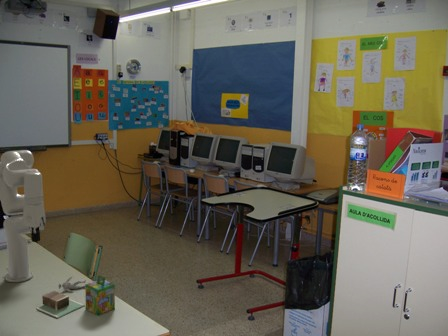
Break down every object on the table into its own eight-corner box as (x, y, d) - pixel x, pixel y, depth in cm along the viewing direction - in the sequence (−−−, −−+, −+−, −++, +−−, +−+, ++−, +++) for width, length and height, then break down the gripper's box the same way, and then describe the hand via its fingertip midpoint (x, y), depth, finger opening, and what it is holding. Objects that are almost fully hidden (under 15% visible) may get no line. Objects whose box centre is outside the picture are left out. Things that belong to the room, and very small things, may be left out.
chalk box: (85, 309, 203) (84, 277, 201) (102, 302, 210) (102, 270, 208) (98, 316, 197) (97, 283, 195) (115, 308, 204) (115, 276, 202)
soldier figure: (86, 292, 223) (62, 290, 215) (82, 296, 225) (57, 294, 218) (86, 276, 227) (61, 274, 220) (81, 281, 230) (57, 279, 222)
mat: (36, 309, 202) (36, 308, 202) (63, 297, 214) (63, 296, 214) (57, 318, 195) (57, 317, 195) (84, 305, 206) (84, 304, 206)
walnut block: (42, 295, 206) (56, 301, 200) (54, 290, 211) (68, 296, 205) (42, 304, 206) (57, 310, 201) (54, 299, 211) (69, 305, 206)
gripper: (15, 199, 206) (18, 240, 209) (37, 204, 198) (39, 246, 201) (30, 196, 212) (33, 235, 215) (52, 201, 204) (54, 242, 207)
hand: (35, 240), depth 208 cm, fingers closed
